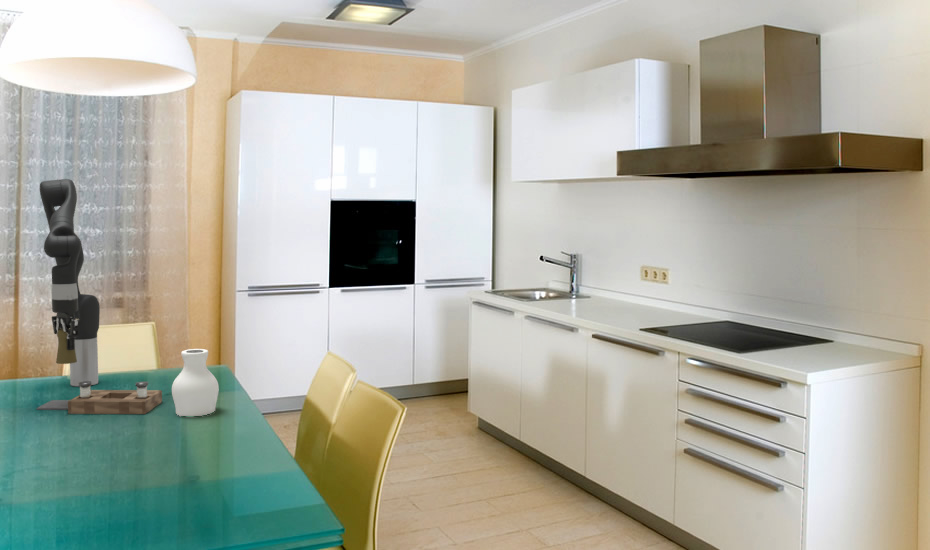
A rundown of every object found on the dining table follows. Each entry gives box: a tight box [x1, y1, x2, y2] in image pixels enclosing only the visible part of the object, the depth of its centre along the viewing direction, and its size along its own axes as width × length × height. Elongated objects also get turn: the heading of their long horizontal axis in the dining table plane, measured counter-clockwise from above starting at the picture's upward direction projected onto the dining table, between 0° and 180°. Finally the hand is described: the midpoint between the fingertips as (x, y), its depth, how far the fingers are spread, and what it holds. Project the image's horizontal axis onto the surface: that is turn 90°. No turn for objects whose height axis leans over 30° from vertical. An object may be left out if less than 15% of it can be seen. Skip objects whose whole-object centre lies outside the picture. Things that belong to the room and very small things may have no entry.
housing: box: [67, 389, 163, 415], centre depth 248 cm, size 15×24×4 cm, turn 93°
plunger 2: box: [134, 381, 149, 399], centre depth 246 cm, size 4×4×8 cm
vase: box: [171, 348, 220, 417], centre depth 244 cm, size 14×14×20 cm
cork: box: [55, 329, 77, 365], centre depth 248 cm, size 6×6×11 cm
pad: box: [36, 399, 70, 411], centre depth 249 cm, size 10×10×1 cm
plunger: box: [78, 381, 93, 399], centre depth 245 cm, size 4×4×8 cm
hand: (66, 348), depth 248 cm, fingers closed on cork, 5 cm apart
